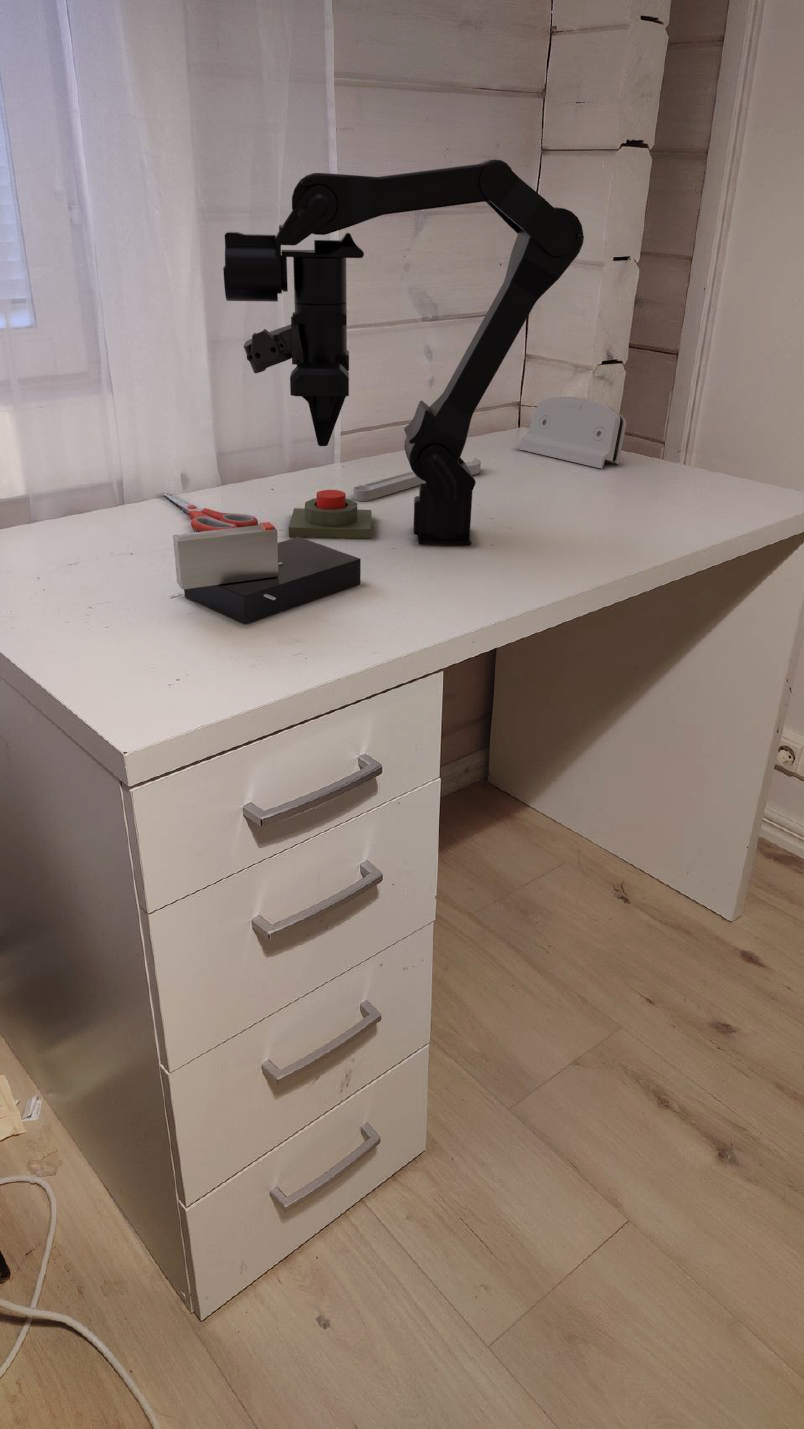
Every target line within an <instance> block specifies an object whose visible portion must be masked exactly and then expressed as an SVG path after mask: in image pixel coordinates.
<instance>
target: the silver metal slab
mask: <svg viewBox="0 0 804 1429" xmlns="http://www.w3.org/2000/svg"><path fill="white" fill-rule="evenodd" d="M172 538H173V539H172V540H173V552H174V564H175V565H174V566H175V575H176V583H177V585H178V586H179V587H180V589H181V590H183V591H184V589H191V588H198V587H205V586H213V585H220V584H228V583H235V582H242V581H250V580H257V579H265V578H272V577H278V576H279V570H278V543H279V542H278V529H277V528H276V527H275V525H273V523H271V522H270V521H267V522H266V521H265V522H260V523H259V524H258V525H257V526H248V527H239V528H230V529H221V530H212V531H204V532H198V531H196V532H187V533H178V534H173V535H172Z"/></svg>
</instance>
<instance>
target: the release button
mask: <svg viewBox="0 0 804 1429" xmlns="http://www.w3.org/2000/svg"><path fill="white" fill-rule="evenodd" d="M346 496H347V495H346V492H345V491H342V490H338V489H323V490H320V491H317V492H316V498H317V507H318V508H322V509H341V508H345V507H346V499H347V498H346Z"/></svg>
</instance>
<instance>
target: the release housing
mask: <svg viewBox="0 0 804 1429" xmlns="http://www.w3.org/2000/svg"><path fill="white" fill-rule="evenodd" d="M372 515H373V514H372V509H358V502H356V501H355V500H354V499H353V500H352V499H351V498H346V507H345V508H341V509H322V508H318V507H317V497H315V498H312V499H309V500H307V501H305V502H304V507H303V508H302V507H301V508H299V507H298V508H297V507H294V508H293V510H292V514H291V518H290V521H289V524H288V537H289V538H296V537H301V538H325V539H326V538H330V539H332V538H333V539H372V538H371V537H372Z"/></svg>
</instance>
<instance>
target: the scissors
mask: <svg viewBox="0 0 804 1429" xmlns="http://www.w3.org/2000/svg"><path fill="white" fill-rule="evenodd" d="M162 495H164V496H165V497H166V498H167V499H168V500H170V501H171V502H172V503H174V504H176V505H177V506H178V507H180V508H181V509H182V510H183V512H186V514H188V517H189V518H190V520H191V521H190V526H191V528H192V529H193V530H194V531H196V532H204V531H212V530H221V529H230V528H239V527H248V526H257V525H259V520H258V518H257V517H256V516H254V515H251V514H244V513H234V512H233V513H231V512H220V511H216V510H214V509H209V508H207V507H204V508H202V509H201V508H199V507H198V506H196V505H193V504H189V503H187V502H185V501H183V500H180V499H178V498H176V497H174V496H172V495H170V494H167V493H165V492H164V493H163V492H162Z"/></svg>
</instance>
